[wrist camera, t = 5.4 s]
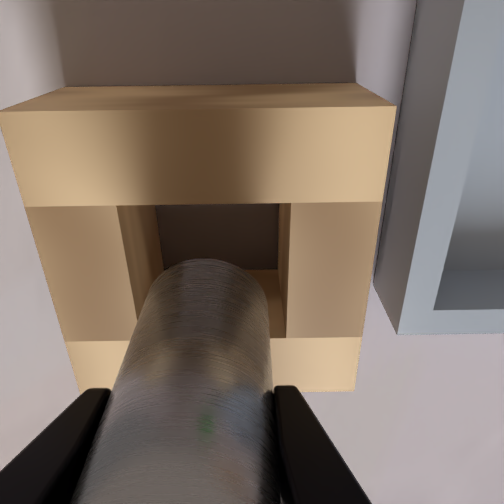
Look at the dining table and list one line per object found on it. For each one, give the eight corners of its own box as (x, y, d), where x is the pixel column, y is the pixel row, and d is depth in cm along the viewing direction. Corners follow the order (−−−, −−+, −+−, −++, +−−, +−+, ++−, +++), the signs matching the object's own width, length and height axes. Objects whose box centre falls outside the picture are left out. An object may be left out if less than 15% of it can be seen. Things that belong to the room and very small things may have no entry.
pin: (268, 257, 10) (322, 902, 3) (267, 356, 11) (300, 940, 4) (137, 258, 10) (-166, 908, 3) (154, 357, 11) (-12, 945, 4)
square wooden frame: (356, 83, 13) (396, 106, 9) (332, 316, 17) (354, 390, 14) (64, 87, 13) (-4, 111, 9) (114, 319, 17) (81, 395, 14)
